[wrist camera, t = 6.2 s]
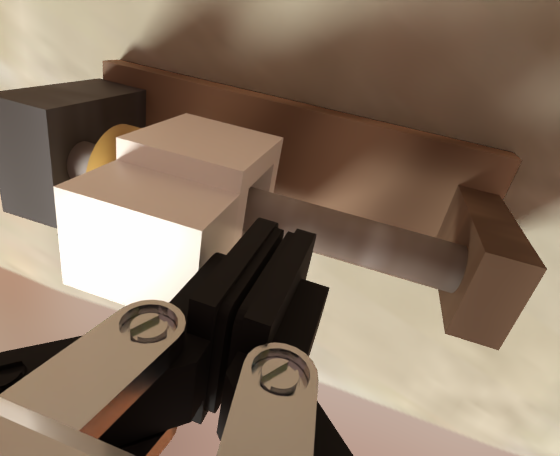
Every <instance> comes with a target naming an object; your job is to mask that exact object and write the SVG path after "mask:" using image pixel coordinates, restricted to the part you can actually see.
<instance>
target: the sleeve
mask: <svg viewBox="0 0 560 456" xmlns="http://www.w3.org/2000/svg"><path fill="white" fill-rule="evenodd" d="M282 144H283V137H279V136H275V135H271V134H267V133H263V132H259V131H255V130H251V129H247V128H243V127H239V126H235V125H231V124H227V123H223V122H219V121H215V120H212V119H208V118H204V117H200V116H196V115H192V114H188V113H185V114H182V115H179V116H177V117H174V118H171V119H168V120H165V121H162V122H159V123H156V124H153V125H150V126H147V127H144V128H141V129H139V130H136V131H133V132H130V133H127V134H124V135H121V136H118V137H116V160H115V161H112V162H110V163H108V164H105V165H103V166H101V167H98V168H96V169H93V170H91V171H89V172H86V173H84V174H82V175H79V176H77V177H75V178H72V179H70V180H67V181H65V182H63V183H60V184H58V185H56V186H53V188H54V198H55V209H56V219H57V229H58V239H59V249H60V259H61V269H62V279H63V284H65V285H67V286H70V287H73V288H76V289H79V290H82V291H85V292H88V293H91V294H94V295H97V296H99V297H102V298H105V299H108V300H111V301H114V302H117V303H120V304H123V305H126V306H127V305H129V304H131V303H134V302H138V301H141V300H161V301H165V302H168V303H169V302H170V301H171V300H172V299H173V298H174V297H175V295H176V294H177V293H178V292H179V291H180V290H181V289H182V288H183V287H184V286H185V285H186V283H187V282H188V281H189V280H190V279H191V278H192V277H193V276H194V275H195V274H196V273H197V271H198V270H199V269H200V268H201V267H202V266H203V265H204V264H205V263H206V262H207V261H208V260H209V258H210V257H211V256H212V255H213V254H215V253H217V252H219V253H222V254H225V255H227V253H228V252H229V251H230V250H231V249H232V248H233V246H234V245H235V244H236V243H237V242H238V241H239V239H240V238H241V237H242V236H243V235H244V234H245V232H243V231H242V230H243V224H244V217H245V210H246V204H247V197H248V191H249V188H250V187H254V188H257V189H261V190H265V191H268V192H272V193H274V187H275V182H276V176H277V171H278V165H279V160H280V155H281V149H282Z"/></svg>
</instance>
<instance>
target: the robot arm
mask: <svg viewBox="0 0 560 456" xmlns="http://www.w3.org/2000/svg"><path fill="white" fill-rule="evenodd" d="M278 226H279V224H278V223H277V222H274V221H270V220H267V219H263V218H260V217H259V218H257V220H256V221H255V222H254V223H253V224H252V225H251V227H250V228H249V229H248V230H247V231H246V232H245V234H244V235H243V236H242V237H241V238H240V239H239V241H238V242H237V243H236V244H235V245H234V246H233V248H232V249H231V250H230V251H229V252H228V253H227V255H225V254H222V253H219V252H217V253H215V254H213V255H212V256H211V257H210V258H209V260H208V261H207V262H206V263H205V264H204V265H203V266H202V267H201V268H200V269H199V270H198V271H197V273H196V274H195V275H194V276H193V277H192V278H191V279H190V280H189V281H188V282H187V283H186V285H185V286H184V287H183V288H182V289H181V290H180V291H179V292H178V293H177V294H176V295H175V297H174V298H173V299H172V300H171V301H170V302H169V303H168V302H165V301H161V300H141V301H138V302H134V303H131V304H129V305H127V306H125V307H123V308H121V309H120V310H119V311H117V312H116V313H114V314H113V315H112V316H110V317H109V318H107V319H106V320H104V321H103V322H102V323H100V324H99V325H97V326H96V327H95V328H93V329H92V330H90V331H89V332H87V333H86V334H85V335H83V336H79V337H74V338H69V339H64V340H59V341H54V342H49V343H44V344H39V345H34V346H29V347H24V348H19V349H15V350H9V351H5V352H1V353H0V456H159V455H160V454H161V452H162V451H163V450H164V449H165V447H166V446H167V445H168V443H169V442H170V441H171V440H172V438H173V436H174V435H175V433H176V430H177V427H178V426H180V425H183V424H186V423H189V422H191V421H194V422H196V423H199V424H201V423H202V422H203V420H204V418H205V416H206V414H207V412H208V411H210V412H213V413H216V411H217V410H218V408H219V406H220V404H221V409H220V415H219V421H218V428H217V434H218V437H219V439H220V441H221V442H220V445H219V449H218V452H217V456H353V454H352V453H351V451H350V450H349V448H348V447H347V445H346V444H345V443H344V441H343V439H342V438H341V436H340V435H339V433H338V432H337V430H336V429H335V427H334V426H333V424H332V423H331V421H330V420H329V418H328V416H327V415H326V414H325V412H324V410H323V409H322V407H321V406H320V404H319V403H318V401H317V393H318V372H317V369H316V367H315V365H314V363H313V361H312V360H311V359H310V358H309V355H310V352H311V348H312V345H313V342H314V339H315V336H316V332H317V329H318V326H319V322H320V319H321V316H322V312H323V309H324V305H325V302H326V298H327V295H328V291H329V287H326V286H323V285H319V284H316V283H313V282H310V281H307V280H306V276H307V272H308V268H309V264H310V260H311V256H312V252H313V248H314V244H315V240H316V234H315V233H311V232H308V231H304V230H301V229H296V231H295V232H294V233H293V232H289V231H288V232H287V233H286V235H285V237H284V238H283V236H284V230H282V229H279V228H278Z"/></svg>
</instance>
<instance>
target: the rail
mask: <svg viewBox="0 0 560 456" xmlns="http://www.w3.org/2000/svg"><path fill="white" fill-rule="evenodd" d="M185 113H188V114H192V115H196V116H200V117H204V118H208V119H212V120H215V121H219V122H223V123H227V124H231V125H235V126H239V127H243V128H247V129H251V130H255V131H259V132H263V133H267V134H271V135H275V136H279V137H283V144H282V149H281V155H280V160H279V165H278V171H277V176H276V182H275V187H274V193H272V192H268V191H265V190H261V189H257V188H254V187H250V188H249V191H248V197H247V204H246V210H245V217H244V224H243V230H242V231H243V232H246V231H247V230H248V229H249V228H250V227H251V225H252V224H253V223H254V222H255V221H256V220H257V218H259V217H260V218H263V219H267V220H270V221H274V222H277V223H278V224H279V226H278V228H279V229H282V230H284V236H283V238H284V237H285V235H286V233H287V232H288V231H289V232H293V233H294V232H295V231H296V229H301V230H304V231H308V232H311V233H315V234H316V240H315V244H314V248H313V252H314V253H317V254H320V255H324V256H327V257H331V258H334V259H337V260H341V261H344V262H348V263H351V264H354V265H358V266H361V267H364V268H368V269H371V270H375V271H378V272H381V273H385V274H388V275H391V276H395V277H398V278H402V279H405V280H408V281H412V282H415V283H419V284H422V285H425V286H429V287H432V288H435V289H438V291H439V297H440V304H441V310H442V316H443V323H444V329H445V334H448V335H452V336H455V337H458V338H461V339H464V340H468V341H471V342H474V343H477V344H480V345H484V346H487V347H490V348H493V349H496V350H499V349H500V347H501V345H502V344H503V342H504V340H505V339H506V337H507V335H508V334H509V332H510V330H511V329H512V327H513V325H514V324H515V322H516V320H517V319H518V317H519V315H520V314H521V312H522V310H523V309H524V307H525V305H526V304H527V302H528V300H529V298H530V297H531V295H532V293H533V292H534V290H535V288H536V287H537V285H538V283H539V282H540V280H541V278H542V277H543V275H544V273H545V272H546V270H547V268H546V267H545V265H544V264H543V262H542V261H541V259H540V257H539V256H538V254H537V253H536V251H535V250H534V248H533V247H532V245H531V244H530V242H529V240H528V239H527V237H526V236H525V234H524V233H523V231H522V230H521V228H520V226H519V225H518V223H517V222H516V220H515V219H514V217H513V216H512V214H511V213H510V211H509V209H508V208H507V206H506V205H505V203H504V202H503V199H504V197H505V195H506V193H507V191H508V188H509V186H510V184H511V182H512V180H513V178H514V176H515V174H516V172H517V170H518V168H519V166H520V164H521V162H522V160H521V159H520V158H519V157H518V156H517V155H516V154H515V153H513V152H509V151H505V150H500V149H496V148H492V147H488V146H484V145H479V144H475V143H471V142H467V141H462V140H458V139H454V138H450V137H445V136H441V135H437V134H433V133H428V132H424V131H420V130H416V129H411V128H407V127H403V126H399V125H394V124H390V123H386V122H382V121H377V120H373V119H369V118H365V117H360V116H356V115H352V114H348V113H343V112H339V111H335V110H331V109H326V108H322V107H318V106H314V105H309V104H305V103H301V102H297V101H292V100H288V99H284V98H280V97H275V96H271V95H267V94H263V93H259V92H254V91H250V90H246V89H242V88H237V87H233V86H229V85H225V84H220V83H216V82H212V81H208V80H203V79H199V78H195V77H191V76H186V75H182V74H178V73H174V72H169V71H165V70H161V69H157V68H152V67H148V66H144V65H140V64H135V63H131V62H127V61H123V60H107V61H103V79H92V80H84V81H76V82H68V83H60V84H52V85H45V86H37V87H29V88H21V89H13V90H5V91H0V194H1V200H2V206H3V211H4V212H7V213H10V214H13V215H16V216H19V217H22V218H26V219H29V220H32V221H35V222H38V223H41V224H44V225H48V226H51V227H54V228H57V219H56V209H55V198H54V188H53V186H56V185H58V184H60V183H63V182H65V181H67V180H70V179H72V178H75V177H77V176H79V175H82V174H84V173H86V172H89V171H91V170H93V169H96V168H98V167H101V166H103V165H105V164H108V163H110V162H112V161H115V160H116V137H118V136H121V135H124V134H127V133H130V132H133V131H136V130H139V129H141V128H144V127H147V126H150V125H153V124H156V123H159V122H162V121H165V120H168V119H171V118H174V117H177V116H179V115H182V114H185Z"/></svg>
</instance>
